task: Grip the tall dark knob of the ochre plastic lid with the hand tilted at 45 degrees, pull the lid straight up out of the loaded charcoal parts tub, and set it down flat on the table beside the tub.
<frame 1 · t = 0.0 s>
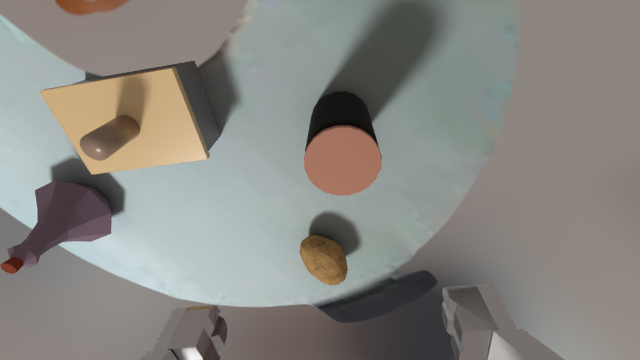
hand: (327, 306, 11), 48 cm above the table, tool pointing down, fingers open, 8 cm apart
coffee jar: (340, 117, 57), on the table
tub: (155, 108, 58), on the table
potato: (323, 244, 74), on the table
lid: (136, 121, 52), point 6 cm above the table, touching tub
flask: (88, 200, 70), on the table
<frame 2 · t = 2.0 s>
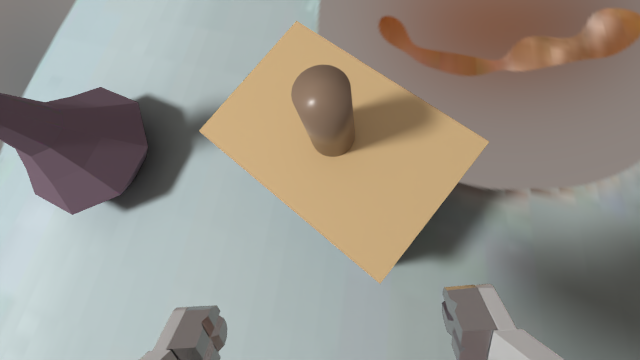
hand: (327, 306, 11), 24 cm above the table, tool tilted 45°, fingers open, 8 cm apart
lid: (335, 145, 31), point 6 cm above the table, touching tub
flask: (115, 158, 42), on the table
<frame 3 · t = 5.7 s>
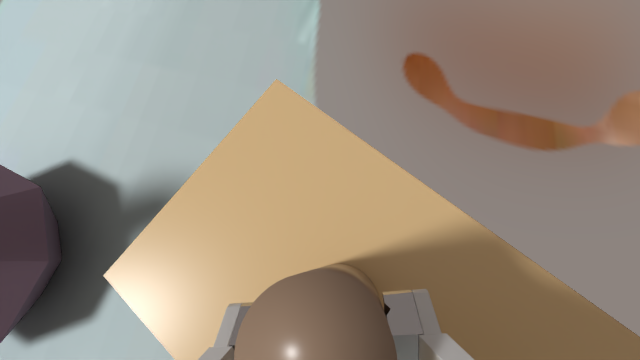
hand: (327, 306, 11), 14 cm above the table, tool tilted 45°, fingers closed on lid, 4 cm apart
lid: (343, 298, 18), point 6 cm above the table, touching gripper, tub
flask: (20, 256, 29), on the table
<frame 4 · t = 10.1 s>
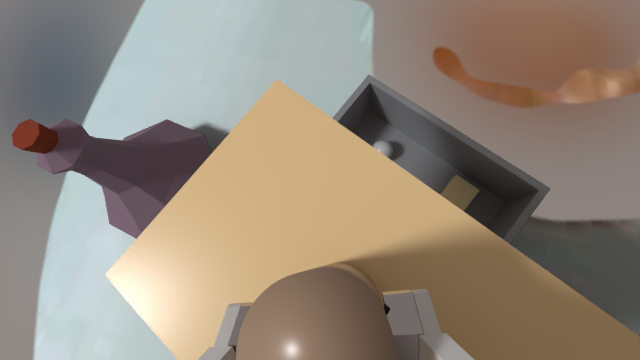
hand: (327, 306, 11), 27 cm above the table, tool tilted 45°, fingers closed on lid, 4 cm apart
tub: (401, 194, 38), on the table
lid: (343, 297, 18), point 20 cm above the table, touching gripper
flask: (178, 186, 44), on the table
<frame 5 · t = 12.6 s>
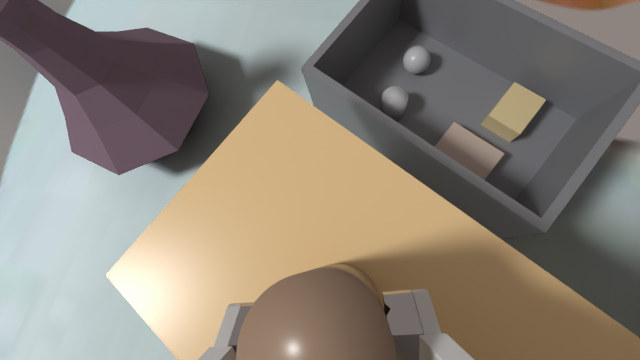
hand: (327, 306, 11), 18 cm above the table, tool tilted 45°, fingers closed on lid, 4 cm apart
tub: (440, 115, 31), on the table
lid: (343, 297, 18), point 11 cm above the table, touching gripper
flask: (161, 115, 36), on the table
when the fingers open (9 cm above the table, at t = 14.6 s): lid drops 2 cm, on the table.
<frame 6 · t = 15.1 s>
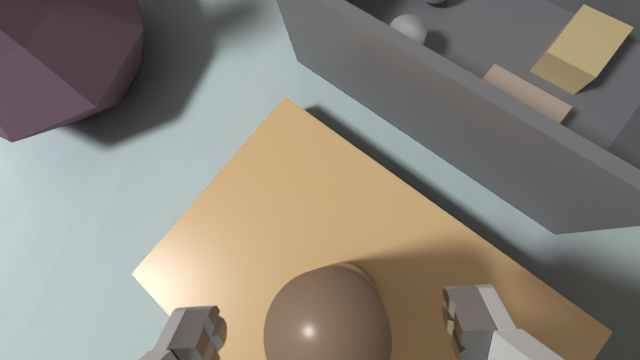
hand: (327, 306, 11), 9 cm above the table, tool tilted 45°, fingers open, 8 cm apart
tub: (469, 62, 22), on the table
lid: (345, 293, 20), on the table
flask: (94, 71, 27), on the table
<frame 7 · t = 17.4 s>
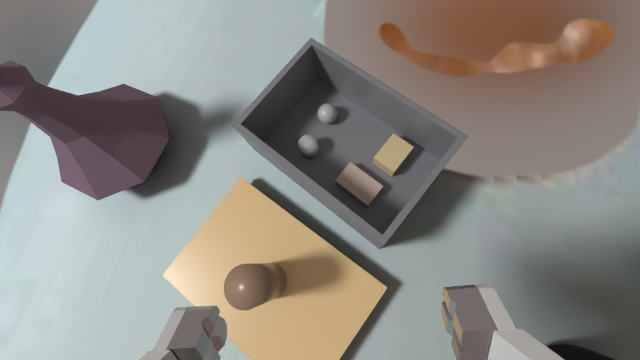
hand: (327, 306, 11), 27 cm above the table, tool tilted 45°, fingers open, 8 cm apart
tub: (346, 155, 41), on the table
lid: (275, 279, 38), on the table
flask: (135, 150, 45), on the table
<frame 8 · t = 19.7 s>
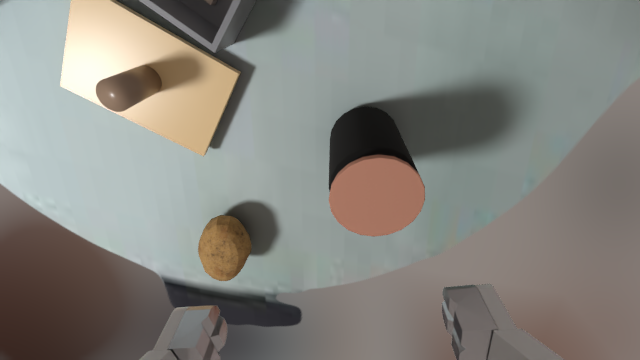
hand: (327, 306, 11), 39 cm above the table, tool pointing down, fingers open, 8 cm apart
coffee jar: (363, 136, 50), on the table
potato: (231, 230, 61), on the table
lid: (156, 75, 46), on the table
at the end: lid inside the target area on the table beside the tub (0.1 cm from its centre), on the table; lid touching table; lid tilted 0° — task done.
